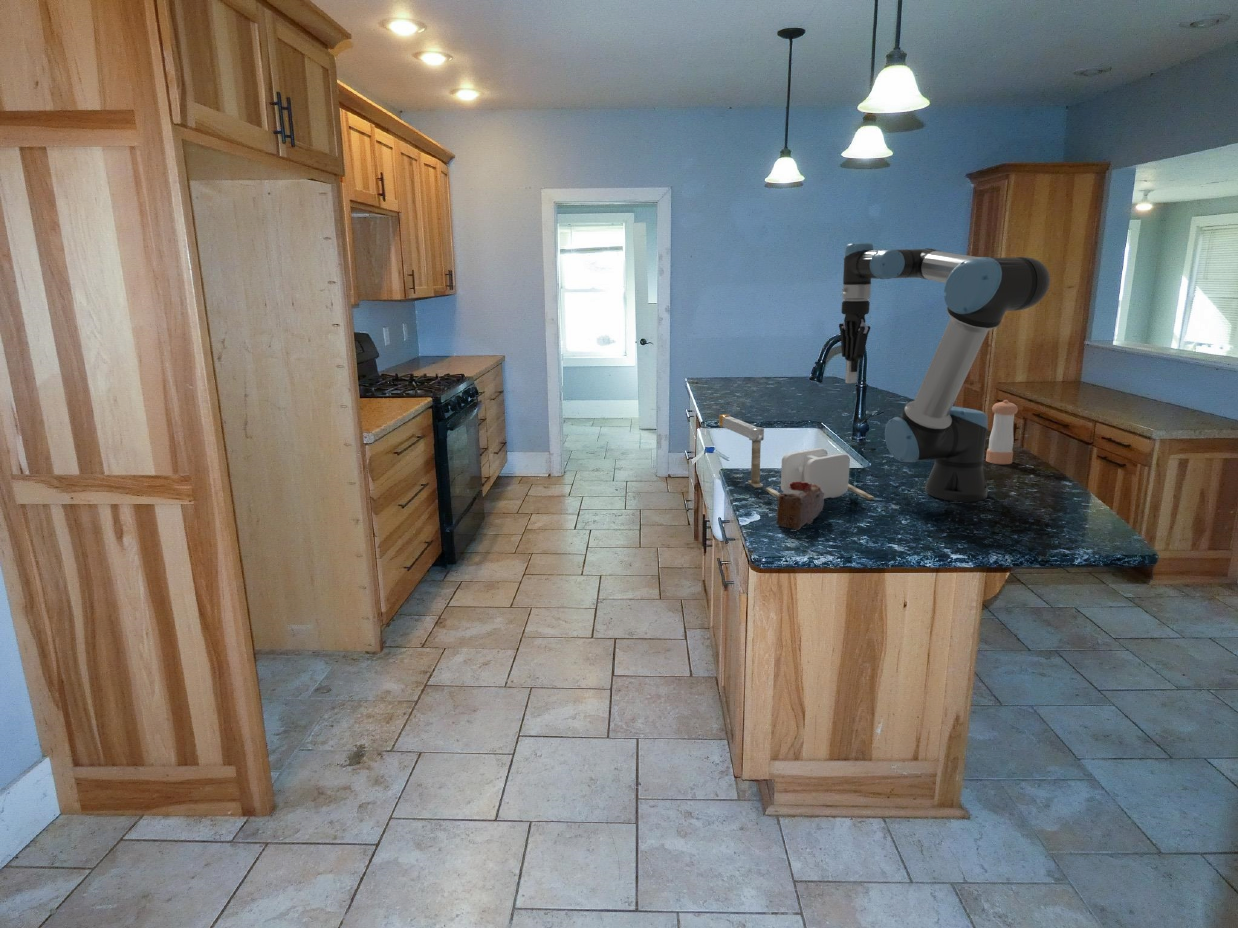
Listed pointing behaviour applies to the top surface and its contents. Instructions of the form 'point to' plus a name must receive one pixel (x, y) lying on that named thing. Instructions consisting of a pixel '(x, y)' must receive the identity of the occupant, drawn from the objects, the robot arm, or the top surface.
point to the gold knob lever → (741, 428)
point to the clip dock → (756, 483)
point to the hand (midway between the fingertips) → (850, 382)
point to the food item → (799, 505)
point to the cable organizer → (816, 471)
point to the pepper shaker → (1002, 433)
